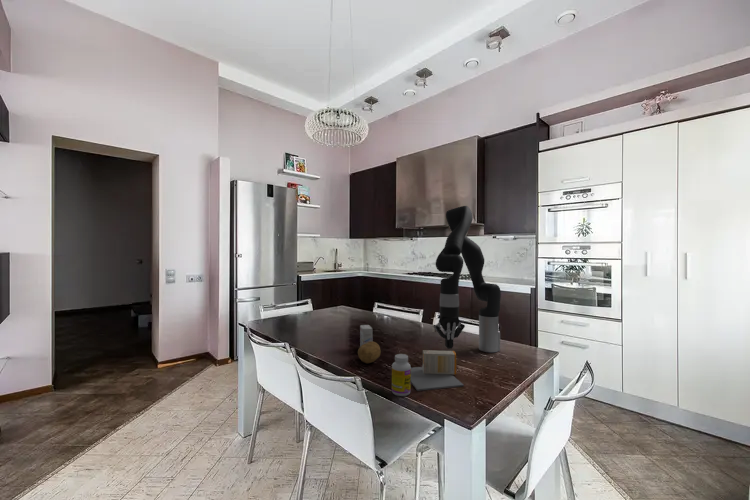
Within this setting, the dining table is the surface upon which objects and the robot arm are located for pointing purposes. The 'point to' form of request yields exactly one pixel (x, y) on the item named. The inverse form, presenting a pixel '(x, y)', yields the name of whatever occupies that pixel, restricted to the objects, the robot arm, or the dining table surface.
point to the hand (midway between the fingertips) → (449, 348)
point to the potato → (369, 352)
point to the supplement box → (439, 362)
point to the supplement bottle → (401, 376)
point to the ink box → (365, 334)
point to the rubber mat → (432, 380)
